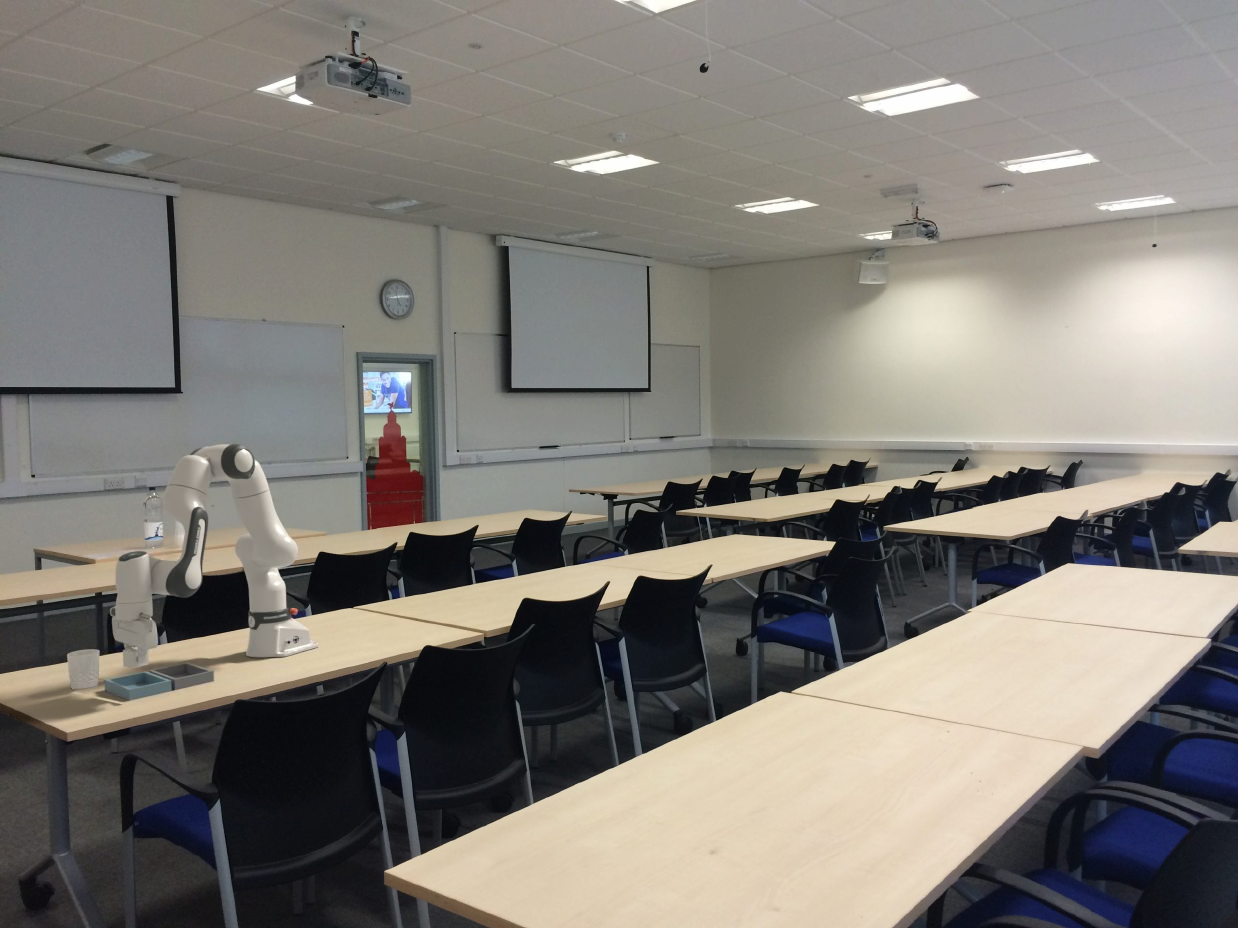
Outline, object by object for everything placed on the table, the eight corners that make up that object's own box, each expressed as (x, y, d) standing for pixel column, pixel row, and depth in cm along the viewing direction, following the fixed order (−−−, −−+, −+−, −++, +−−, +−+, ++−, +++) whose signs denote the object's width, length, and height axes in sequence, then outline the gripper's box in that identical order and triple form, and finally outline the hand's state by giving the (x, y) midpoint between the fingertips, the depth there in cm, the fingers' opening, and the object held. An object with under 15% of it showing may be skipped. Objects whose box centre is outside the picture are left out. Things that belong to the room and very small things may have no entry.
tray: (187, 673, 272) (187, 662, 271) (214, 682, 261) (213, 670, 261) (149, 682, 263) (149, 670, 263) (175, 691, 253) (174, 679, 253)
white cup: (64, 692, 254) (63, 657, 254) (73, 684, 262) (72, 650, 261) (96, 689, 256) (94, 654, 256) (104, 682, 264) (102, 648, 263)
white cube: (138, 662, 255) (138, 646, 255) (148, 664, 253) (148, 648, 253) (123, 666, 252) (122, 649, 251) (133, 668, 249) (132, 651, 249)
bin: (145, 683, 262) (145, 671, 262) (171, 692, 252) (171, 680, 252) (105, 692, 254) (104, 679, 254) (129, 702, 244) (129, 689, 243)
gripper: (163, 613, 248) (164, 664, 248) (130, 605, 261) (132, 652, 261) (139, 617, 243) (140, 668, 243) (107, 608, 256) (108, 657, 256)
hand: (136, 660), depth 252 cm, fingers closed on white cube, 5 cm apart
